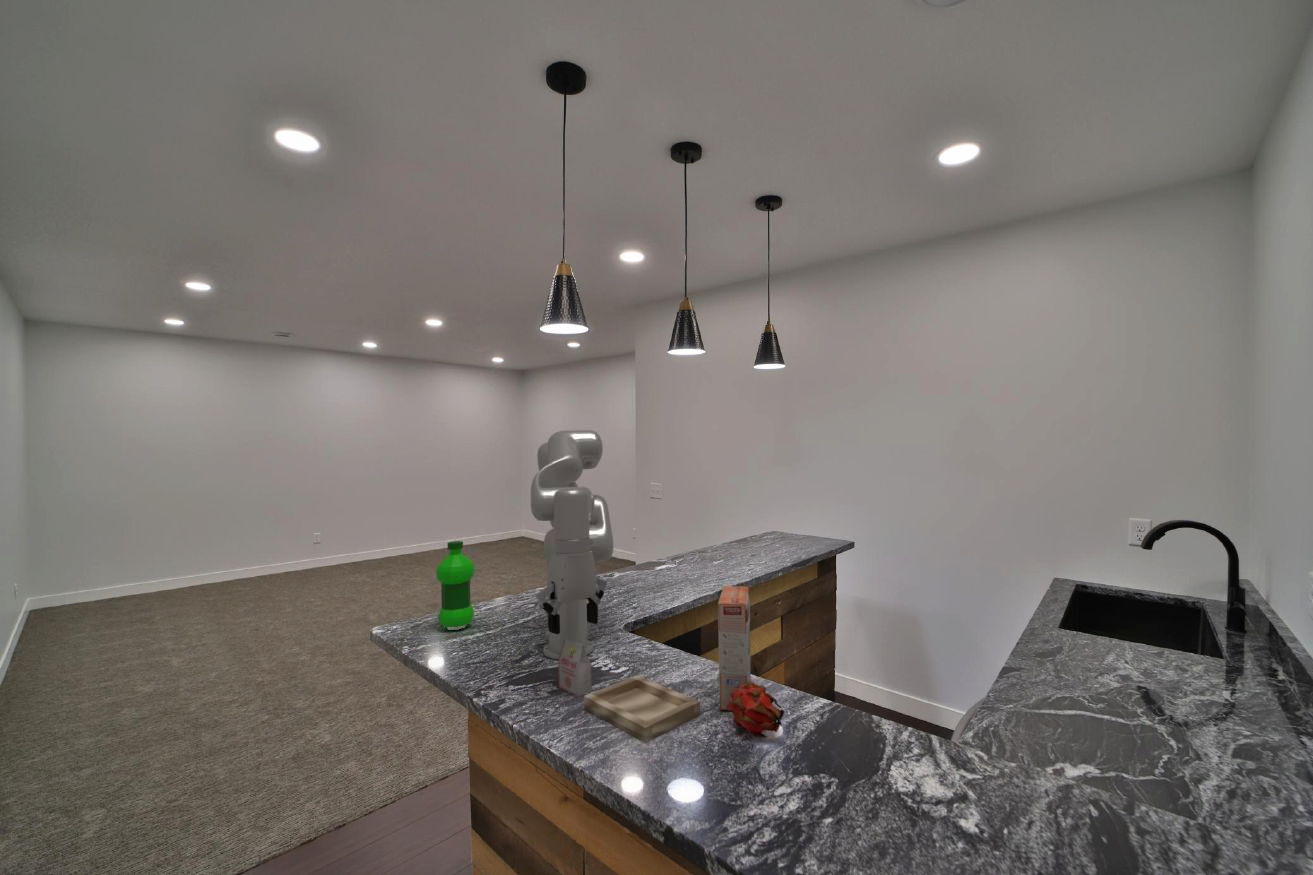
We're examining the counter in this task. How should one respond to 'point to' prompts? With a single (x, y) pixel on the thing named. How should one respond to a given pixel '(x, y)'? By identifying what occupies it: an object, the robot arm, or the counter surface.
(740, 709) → the dragon fruit
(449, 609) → the plastic bottle
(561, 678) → the white cardboard box
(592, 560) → the robot arm
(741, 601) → the cracker box
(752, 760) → the counter surface
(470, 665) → the counter surface
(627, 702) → the wooden tray
